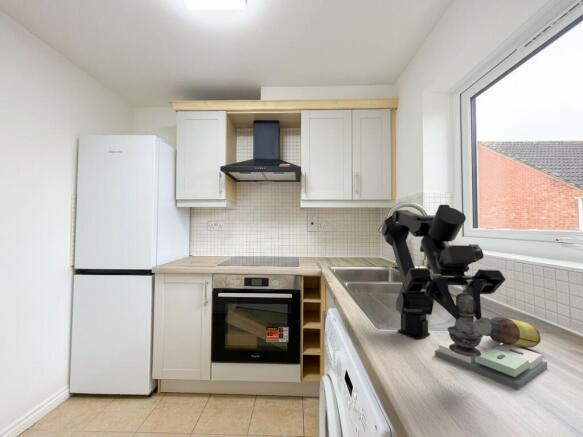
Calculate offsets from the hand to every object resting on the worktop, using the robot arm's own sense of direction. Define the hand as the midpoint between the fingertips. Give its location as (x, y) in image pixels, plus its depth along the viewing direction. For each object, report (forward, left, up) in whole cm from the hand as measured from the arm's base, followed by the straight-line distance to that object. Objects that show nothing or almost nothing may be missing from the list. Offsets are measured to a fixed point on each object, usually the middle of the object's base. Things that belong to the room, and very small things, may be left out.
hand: (468, 318), depth 51 cm
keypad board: (-3, +16, -13) cm, 21 cm away
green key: (+1, +12, -13) cm, 18 cm away
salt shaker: (-1, +1, -7) cm, 7 cm away
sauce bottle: (-2, +34, -11) cm, 36 cm away
